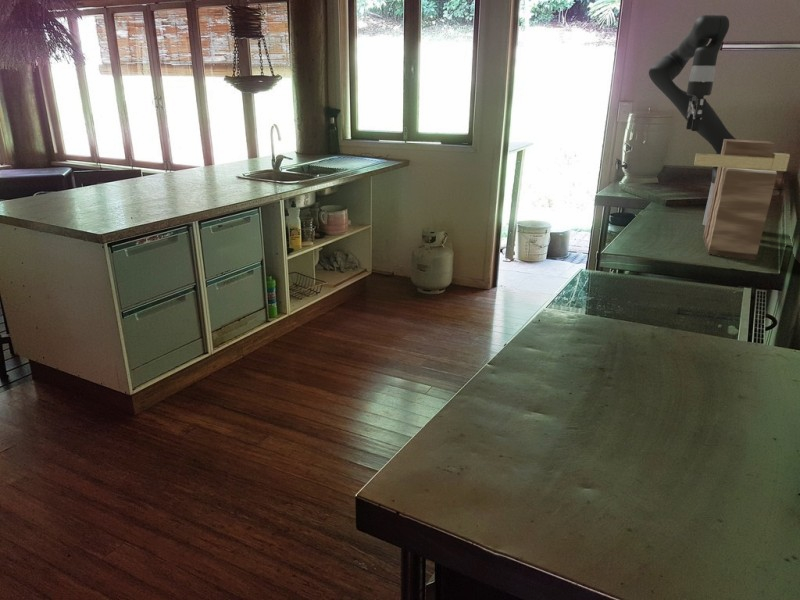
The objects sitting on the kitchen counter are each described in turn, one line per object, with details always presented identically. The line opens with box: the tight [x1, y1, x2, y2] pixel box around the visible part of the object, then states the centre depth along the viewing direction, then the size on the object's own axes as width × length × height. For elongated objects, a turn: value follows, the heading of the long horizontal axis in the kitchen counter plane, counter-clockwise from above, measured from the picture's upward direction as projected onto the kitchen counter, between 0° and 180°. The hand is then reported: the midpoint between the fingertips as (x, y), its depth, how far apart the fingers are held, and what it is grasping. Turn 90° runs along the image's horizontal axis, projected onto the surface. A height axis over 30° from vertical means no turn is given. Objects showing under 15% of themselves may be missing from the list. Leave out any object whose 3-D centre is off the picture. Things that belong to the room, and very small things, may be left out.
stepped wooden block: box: [702, 139, 778, 261], centre depth 195 cm, size 26×14×36 cm, turn 157°
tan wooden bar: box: [693, 152, 791, 172], centre depth 186 cm, size 5×26×5 cm, turn 67°
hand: (691, 130), depth 199 cm, fingers open, 8 cm apart
